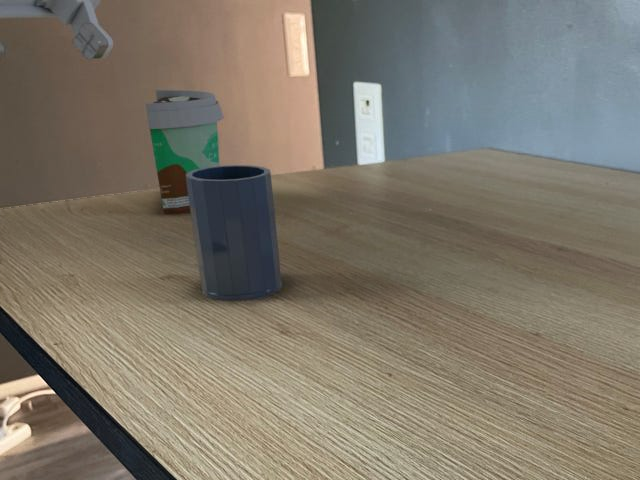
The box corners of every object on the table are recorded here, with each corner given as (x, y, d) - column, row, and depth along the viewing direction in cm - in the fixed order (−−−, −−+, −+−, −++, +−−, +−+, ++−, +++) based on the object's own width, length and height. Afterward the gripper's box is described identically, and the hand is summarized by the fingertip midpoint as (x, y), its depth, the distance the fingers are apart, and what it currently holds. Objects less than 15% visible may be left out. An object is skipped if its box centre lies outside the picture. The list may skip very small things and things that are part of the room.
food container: (234, 216, 73) (220, 102, 69) (163, 220, 71) (144, 104, 67) (233, 188, 84) (221, 88, 80) (171, 191, 82) (155, 89, 78)
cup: (189, 301, 52) (170, 179, 49) (222, 277, 57) (207, 163, 54) (265, 305, 52) (252, 182, 48) (292, 280, 56) (281, 166, 53)
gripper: (3, -62, 60) (134, 78, 62) (-305, -89, 42) (-110, 109, 44) (38, -132, 57) (175, 17, 59) (-278, -194, 40) (-69, 22, 41)
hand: (52, 56), depth 51 cm, fingers open, 8 cm apart
